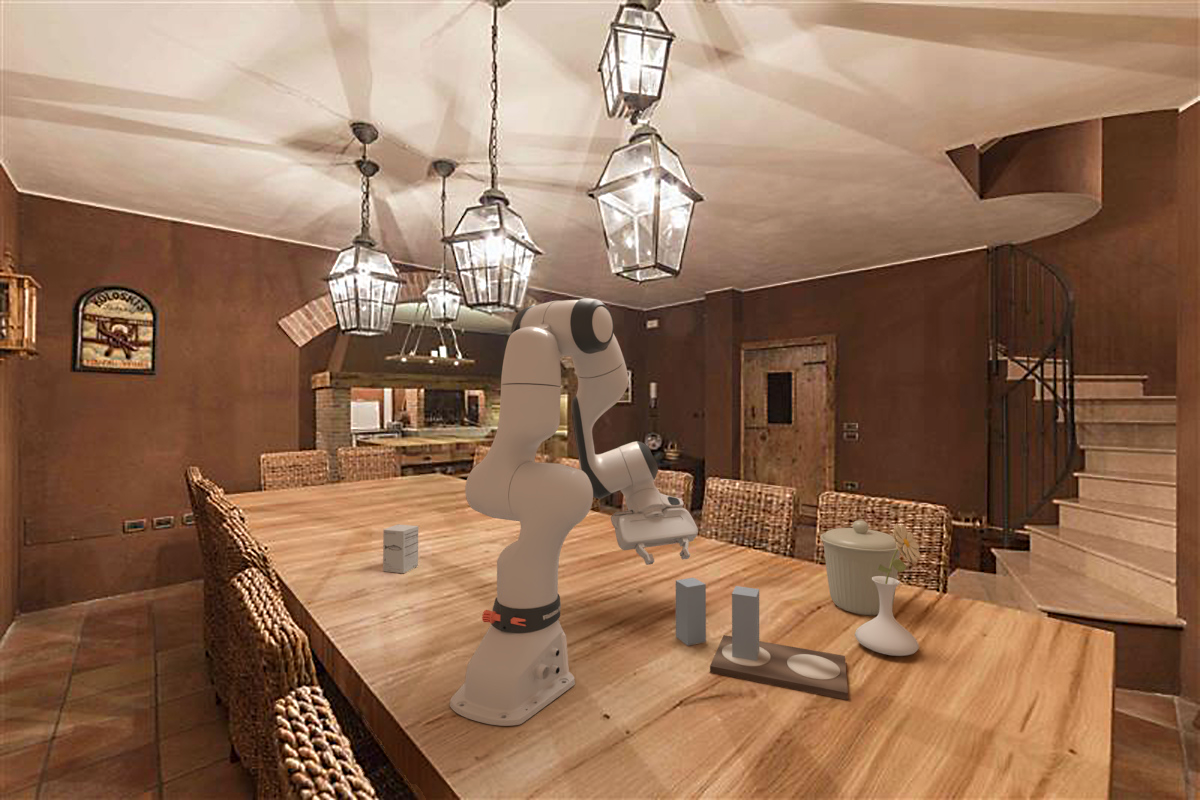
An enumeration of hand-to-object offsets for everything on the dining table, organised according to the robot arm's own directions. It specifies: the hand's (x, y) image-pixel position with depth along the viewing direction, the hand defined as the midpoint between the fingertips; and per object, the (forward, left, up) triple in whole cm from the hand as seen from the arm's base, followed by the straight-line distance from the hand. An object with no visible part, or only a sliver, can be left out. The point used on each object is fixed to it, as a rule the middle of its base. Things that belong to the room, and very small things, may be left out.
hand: (668, 560), depth 118 cm
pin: (-11, -18, -13) cm, 25 cm away
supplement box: (+6, +85, -14) cm, 86 cm away
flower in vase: (+6, -44, -14) cm, 47 cm away
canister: (+27, -40, -14) cm, 51 cm away
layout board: (-11, -24, -14) cm, 30 cm away
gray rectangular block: (-6, -6, -14) cm, 17 cm away
